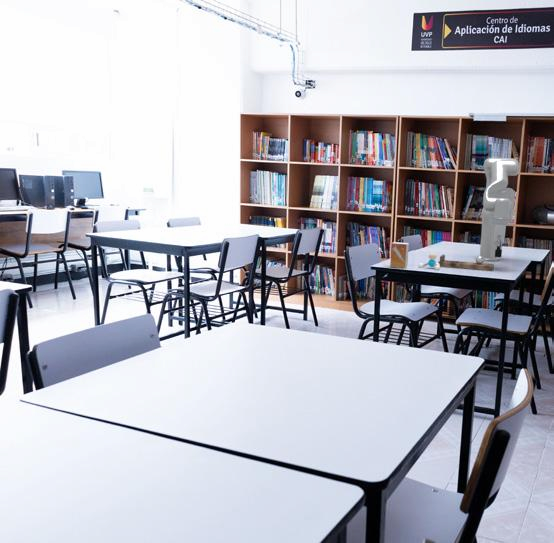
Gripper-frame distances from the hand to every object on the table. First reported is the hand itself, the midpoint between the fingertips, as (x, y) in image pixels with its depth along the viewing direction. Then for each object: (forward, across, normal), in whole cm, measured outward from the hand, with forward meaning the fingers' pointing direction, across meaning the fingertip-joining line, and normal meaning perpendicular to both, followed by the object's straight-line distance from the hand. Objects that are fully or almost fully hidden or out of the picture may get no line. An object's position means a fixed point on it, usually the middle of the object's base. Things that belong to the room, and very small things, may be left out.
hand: (498, 257), depth 348 cm
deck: (+7, -1, -16) cm, 18 cm away
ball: (+2, -1, -9) cm, 9 cm away
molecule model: (+8, +12, -31) cm, 34 cm away
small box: (+8, +19, -48) cm, 52 cm away
